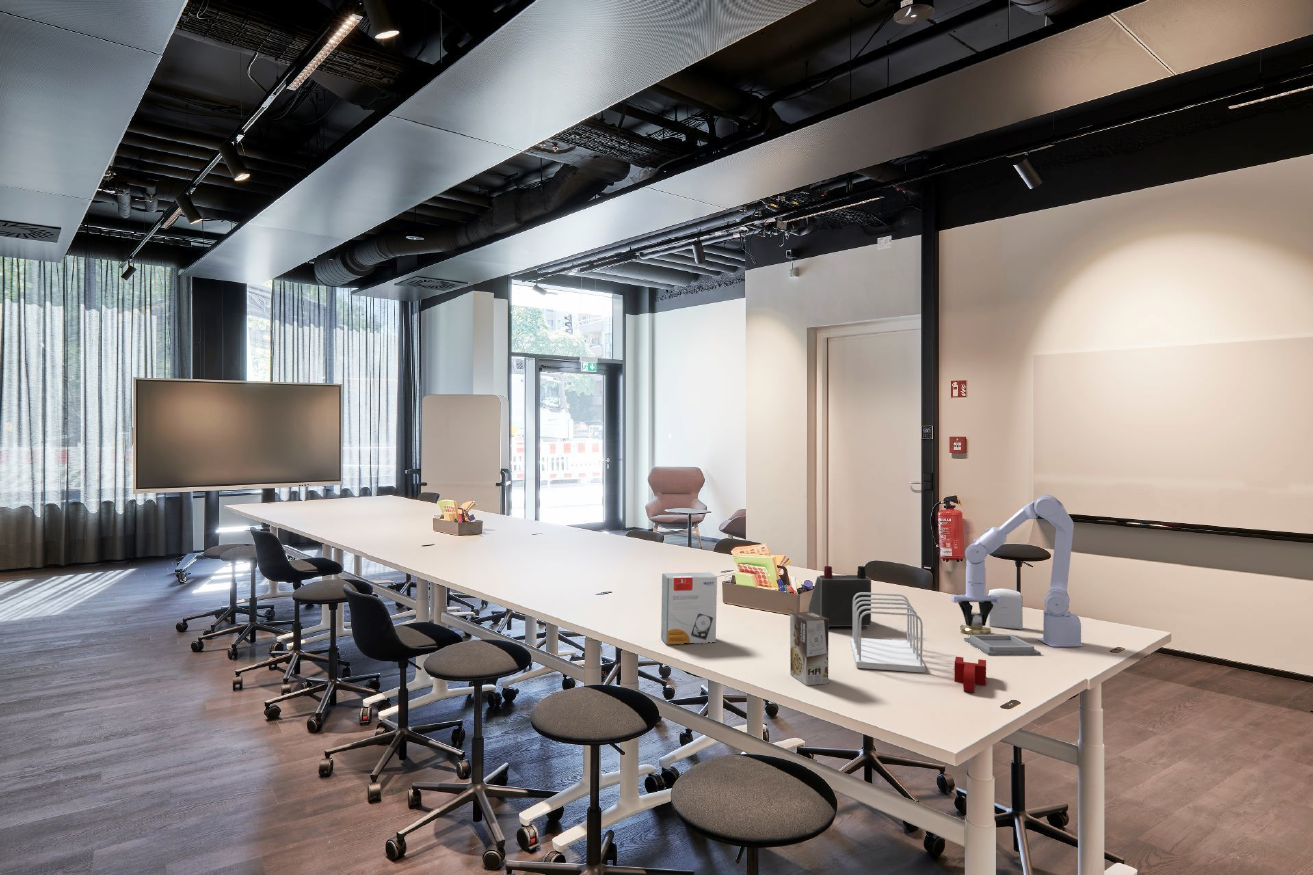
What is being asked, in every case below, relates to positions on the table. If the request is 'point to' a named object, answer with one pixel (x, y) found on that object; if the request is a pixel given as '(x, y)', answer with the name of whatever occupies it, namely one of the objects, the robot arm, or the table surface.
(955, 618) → the table surface
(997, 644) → the plate
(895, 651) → the file sorter
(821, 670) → the coffee box
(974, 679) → the mechanical linkage
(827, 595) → the voltmeter
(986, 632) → the planet gear
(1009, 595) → the photo printer
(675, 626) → the hard drive box
